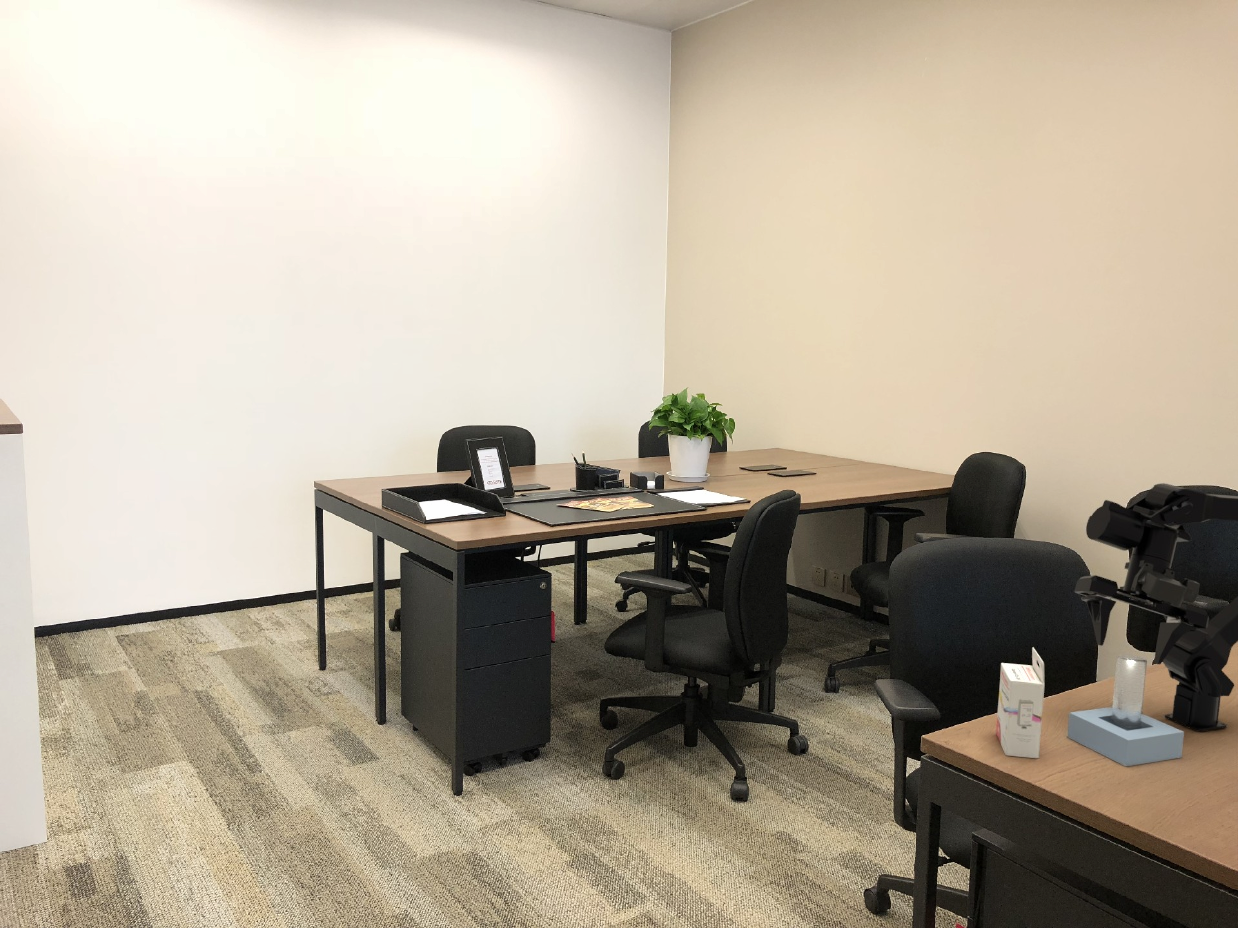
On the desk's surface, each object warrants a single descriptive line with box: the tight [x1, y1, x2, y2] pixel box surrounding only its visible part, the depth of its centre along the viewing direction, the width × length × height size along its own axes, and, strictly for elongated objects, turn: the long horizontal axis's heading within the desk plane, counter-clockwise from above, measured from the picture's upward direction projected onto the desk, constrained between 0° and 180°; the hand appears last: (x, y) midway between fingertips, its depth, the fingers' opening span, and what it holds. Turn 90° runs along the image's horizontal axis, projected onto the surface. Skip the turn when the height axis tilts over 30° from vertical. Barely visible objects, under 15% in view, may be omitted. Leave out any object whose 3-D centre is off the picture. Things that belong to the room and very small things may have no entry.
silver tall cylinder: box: [1111, 654, 1148, 731], centre depth 146 cm, size 4×4×14 cm
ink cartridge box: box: [995, 646, 1045, 759], centre depth 145 cm, size 9×5×15 cm, turn 168°
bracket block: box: [1066, 706, 1185, 767], centre depth 146 cm, size 11×11×4 cm
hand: (1128, 654), depth 151 cm, fingers open, 9 cm apart
